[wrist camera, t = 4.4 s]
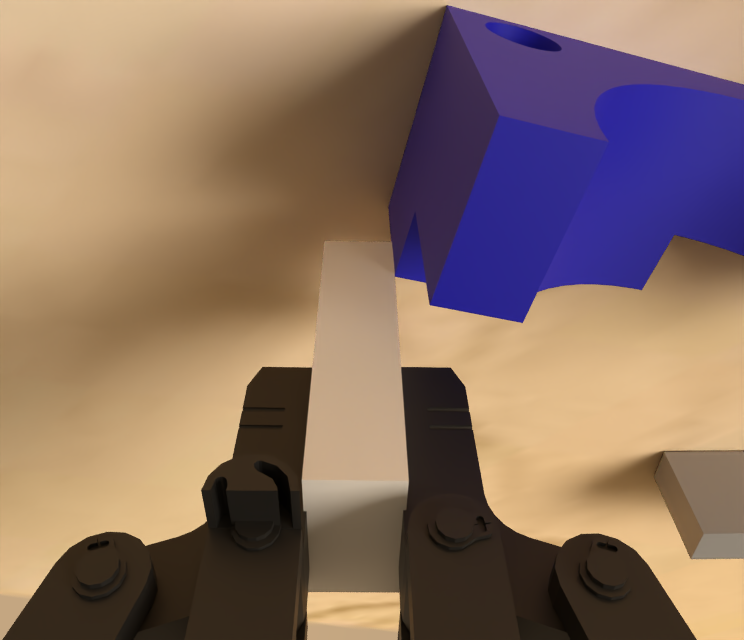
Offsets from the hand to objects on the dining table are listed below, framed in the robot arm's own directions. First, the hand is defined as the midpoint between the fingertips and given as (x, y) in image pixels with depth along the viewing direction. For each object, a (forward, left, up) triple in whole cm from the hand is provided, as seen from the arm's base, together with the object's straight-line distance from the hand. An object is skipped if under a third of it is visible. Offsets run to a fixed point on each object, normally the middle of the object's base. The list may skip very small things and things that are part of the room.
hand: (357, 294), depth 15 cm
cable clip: (+7, +2, -2) cm, 8 cm away
